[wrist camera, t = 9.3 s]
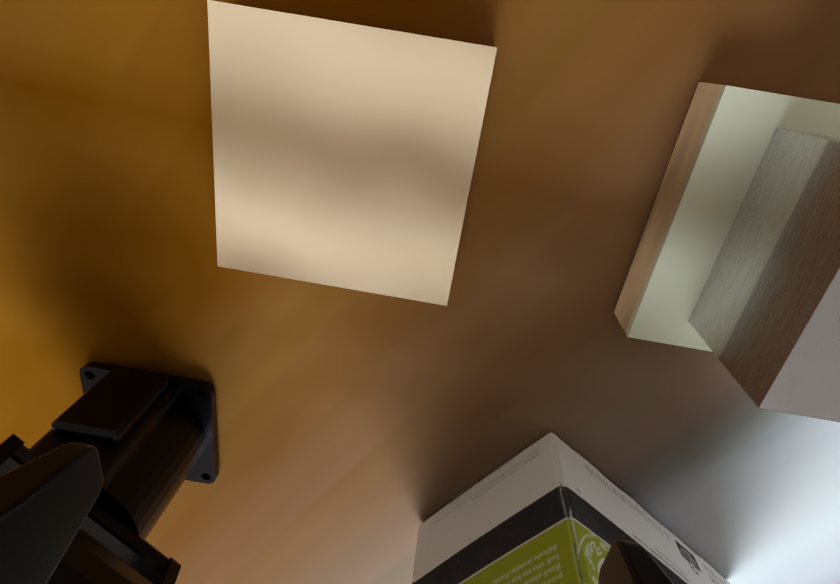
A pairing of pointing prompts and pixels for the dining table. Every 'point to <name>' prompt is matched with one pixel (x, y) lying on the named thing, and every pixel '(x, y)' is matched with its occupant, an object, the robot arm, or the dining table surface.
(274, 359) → the dining table surface
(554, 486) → the tea box
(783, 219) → the block
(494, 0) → the dining table surface
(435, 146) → the stand
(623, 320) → the stand
